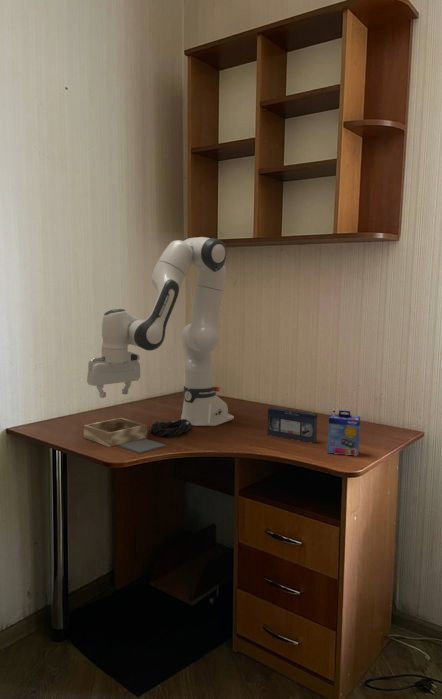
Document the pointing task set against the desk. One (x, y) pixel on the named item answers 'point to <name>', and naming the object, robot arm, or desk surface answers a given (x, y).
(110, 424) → the block
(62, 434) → the desk surface
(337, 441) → the ink cartridge box
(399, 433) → the desk surface
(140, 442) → the pad
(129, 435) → the crate
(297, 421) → the vhs cassette tape
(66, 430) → the desk surface
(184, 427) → the cable
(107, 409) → the desk surface
